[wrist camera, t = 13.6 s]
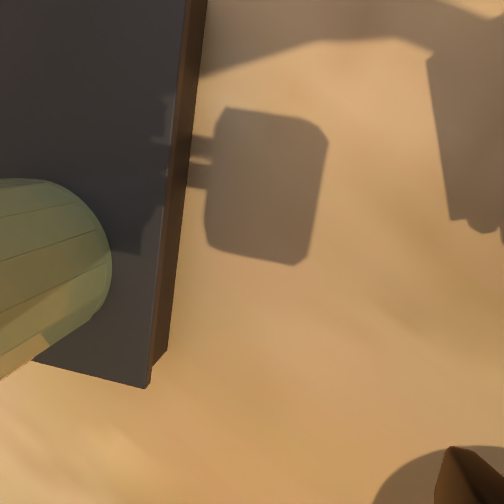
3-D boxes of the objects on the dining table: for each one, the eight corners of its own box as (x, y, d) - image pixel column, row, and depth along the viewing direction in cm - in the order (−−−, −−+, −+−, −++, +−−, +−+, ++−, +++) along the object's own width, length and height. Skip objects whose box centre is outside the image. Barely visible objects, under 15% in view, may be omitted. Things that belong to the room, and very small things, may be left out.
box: (216, -10, 20) (190, -39, 16) (172, 357, 24) (145, 390, 20) (-13, -34, 21) (-76, -66, 18) (-16, 312, 25) (-69, 336, 22)
